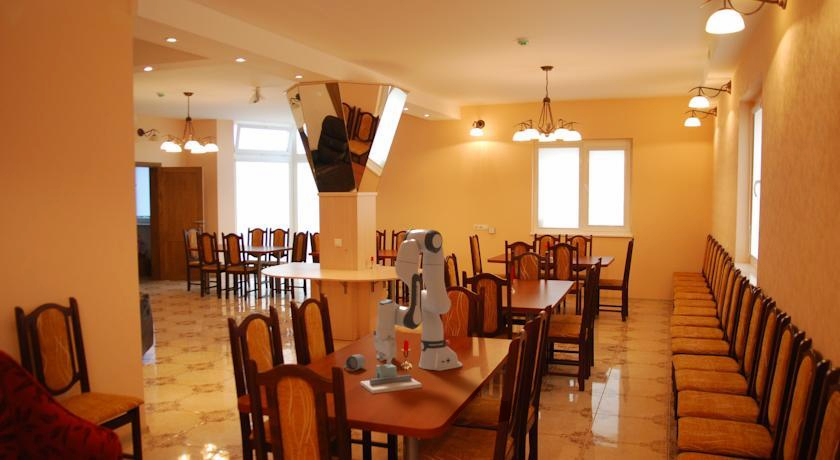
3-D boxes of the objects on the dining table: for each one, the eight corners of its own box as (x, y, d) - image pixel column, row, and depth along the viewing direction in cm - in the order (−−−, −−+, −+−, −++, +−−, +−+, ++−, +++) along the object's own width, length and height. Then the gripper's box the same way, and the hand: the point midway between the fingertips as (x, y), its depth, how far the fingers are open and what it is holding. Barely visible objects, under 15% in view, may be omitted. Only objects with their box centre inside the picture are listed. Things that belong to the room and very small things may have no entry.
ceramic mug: (366, 368, 347) (366, 353, 347) (358, 371, 339) (357, 356, 339) (348, 366, 351) (348, 351, 351) (340, 370, 344) (339, 354, 344)
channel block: (391, 376, 332) (391, 363, 332) (396, 379, 326) (396, 366, 326) (376, 377, 329) (376, 365, 328) (381, 381, 323) (380, 368, 322)
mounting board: (407, 378, 326) (407, 375, 326) (421, 387, 312) (421, 383, 312) (360, 384, 316) (360, 381, 316) (372, 393, 302) (372, 390, 302)
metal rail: (409, 379, 319) (409, 374, 319) (411, 380, 317) (411, 375, 317) (369, 384, 311) (369, 379, 311) (371, 385, 309) (371, 380, 309)
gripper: (400, 337, 318) (399, 367, 318) (384, 330, 336) (383, 357, 337) (387, 338, 315) (386, 368, 316) (372, 330, 334) (371, 358, 334)
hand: (384, 362), depth 326 cm, fingers open, 8 cm apart
